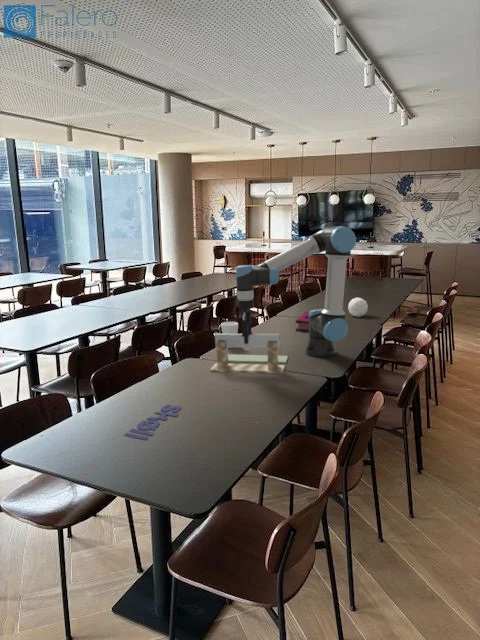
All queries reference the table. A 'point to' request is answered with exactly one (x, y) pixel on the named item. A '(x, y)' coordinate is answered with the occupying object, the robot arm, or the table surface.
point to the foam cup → (229, 328)
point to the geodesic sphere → (357, 307)
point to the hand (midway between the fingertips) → (247, 348)
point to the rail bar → (254, 339)
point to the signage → (152, 419)
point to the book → (303, 322)
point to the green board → (254, 358)
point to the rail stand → (247, 368)
